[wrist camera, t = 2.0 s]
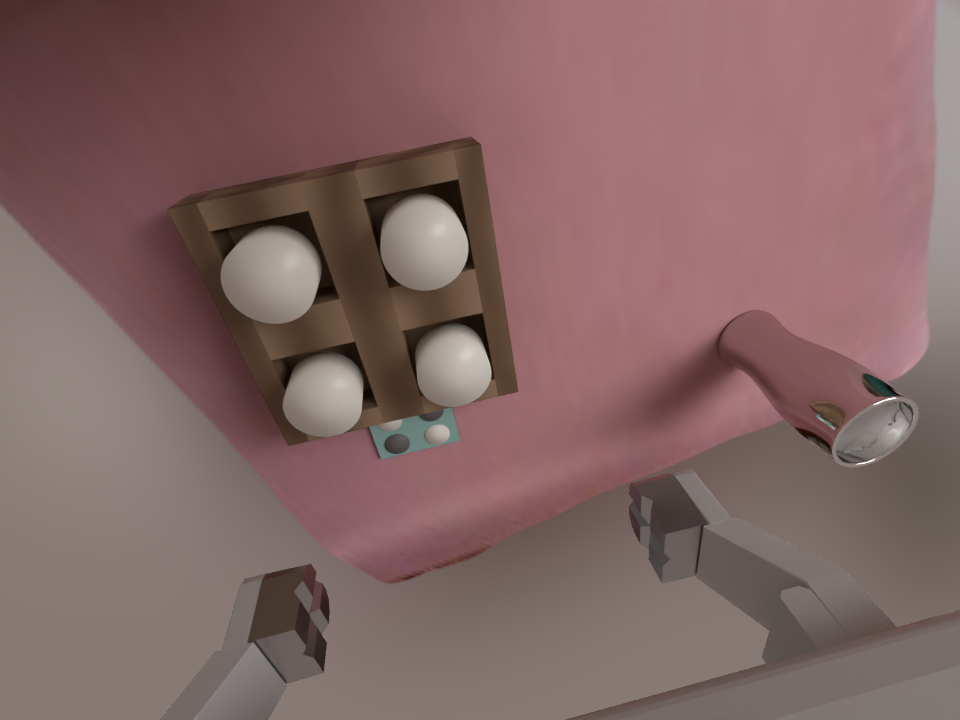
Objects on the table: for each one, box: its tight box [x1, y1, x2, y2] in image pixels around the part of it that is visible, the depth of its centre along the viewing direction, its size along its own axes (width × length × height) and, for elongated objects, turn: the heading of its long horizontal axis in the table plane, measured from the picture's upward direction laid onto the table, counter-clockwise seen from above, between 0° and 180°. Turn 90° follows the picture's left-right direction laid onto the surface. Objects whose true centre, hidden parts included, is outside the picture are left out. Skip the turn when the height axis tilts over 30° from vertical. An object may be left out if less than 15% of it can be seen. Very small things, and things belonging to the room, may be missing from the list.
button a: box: [380, 193, 468, 291], centre depth 32 cm, size 6×6×3 cm
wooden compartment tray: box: [167, 137, 518, 446], centre depth 37 cm, size 20×20×4 cm
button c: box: [415, 323, 492, 407], centre depth 38 cm, size 6×6×3 cm
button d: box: [283, 352, 364, 437], centre depth 37 cm, size 6×6×3 cm
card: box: [369, 407, 460, 460], centre depth 46 cm, size 8×6×1 cm
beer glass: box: [718, 310, 919, 467], centre depth 42 cm, size 7×7×15 cm
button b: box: [221, 225, 322, 324], centre depth 32 cm, size 6×6×3 cm
